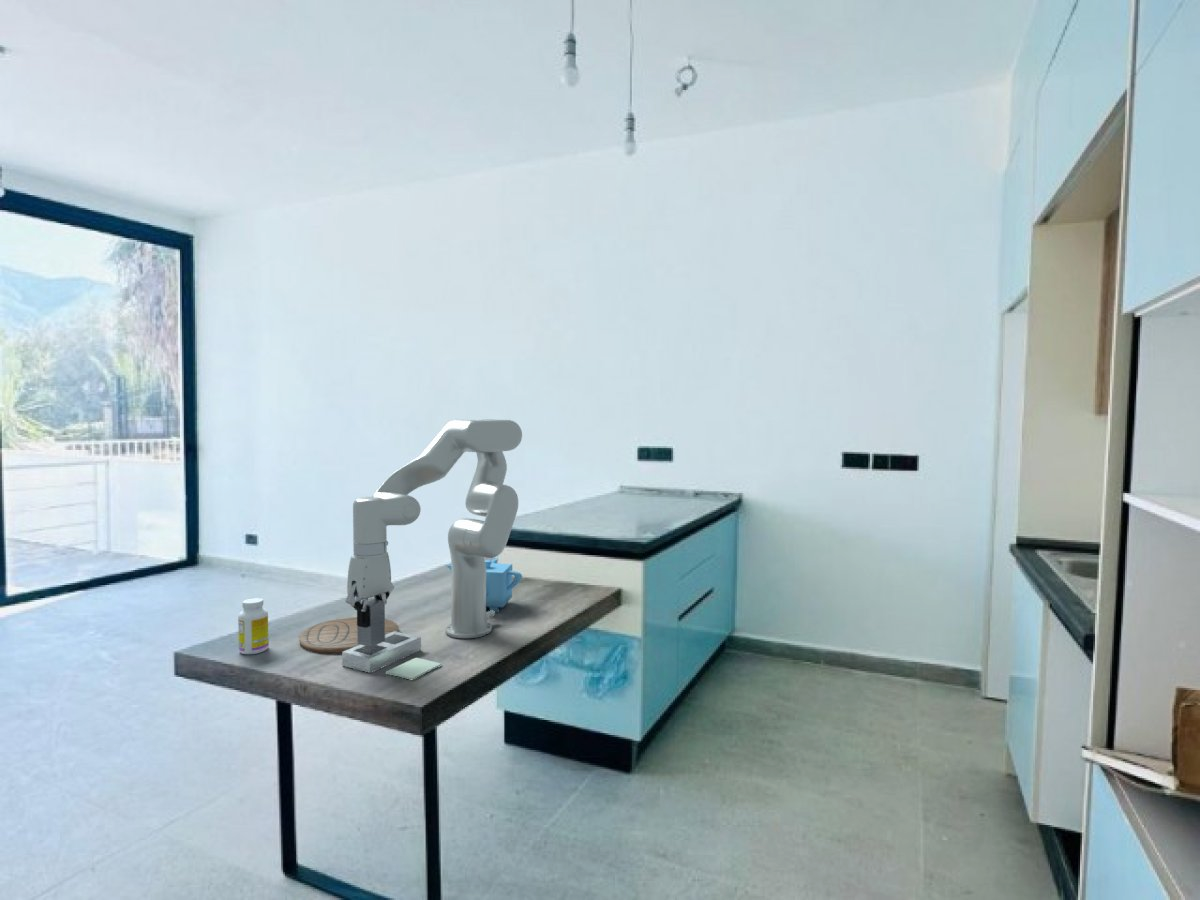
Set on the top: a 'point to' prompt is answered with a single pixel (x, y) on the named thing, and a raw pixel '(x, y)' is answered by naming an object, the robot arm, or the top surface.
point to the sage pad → (413, 668)
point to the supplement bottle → (253, 627)
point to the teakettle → (499, 583)
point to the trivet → (335, 635)
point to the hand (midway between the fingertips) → (371, 622)
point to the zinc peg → (373, 624)
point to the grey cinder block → (381, 652)
